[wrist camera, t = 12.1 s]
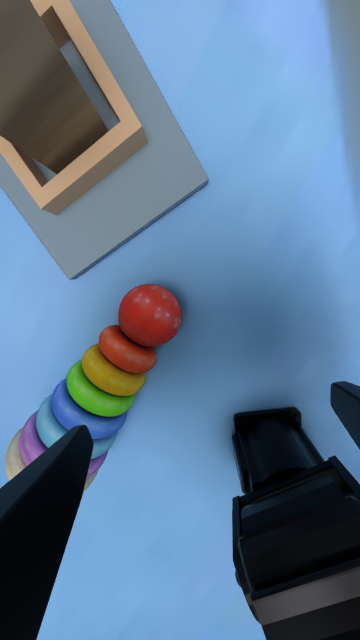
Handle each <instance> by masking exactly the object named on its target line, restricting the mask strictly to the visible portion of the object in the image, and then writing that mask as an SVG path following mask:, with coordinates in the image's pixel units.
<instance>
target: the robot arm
mask: <svg viewBox="0 0 360 640" xmlns="http://www.w3.org/2000/svg"><path fill="white" fill-rule="evenodd" d="M330 401H331V406H332V408H333V410H334V412H335V413H336V415H337V416H338V418H339V419H340V421H341V422H342V424H343V425H344V427H345V428H346V430H347V431H348V433H349V434H350V436H351V437H352V439H353V440H354V442H355V443H356V445H357V446H358V448H359V449H360V386H357V385H354V384H352V383H349V382H346V381H341V382H335V383H332V384H331V400H330ZM295 412H296V413H295ZM293 413H295V414H293ZM239 418H240V420H237V419H239ZM233 420H234V428H235V434H233V435H232V445H233V452H234V458H235V462H236V467H237V471H238V476H239V480H240V484H241V489H242V492H243V493H244V494H245V495H243V496H241V497H240V496H237V497H234V498H233V509H232V525H233V562H234V565H235V568H236V571H235V576H236V580H237V583H238V585H239V586H240V587H241V588H242V590H243V593H244V596H245V598H246V601H247V603H248V606H249V608H250V610H251V612H252V614H253V616H254V617H255V619H256V620H257V621H258V622H259V623H260V624H261V625H262V628H263V631H264V634H265V637H266V640H360V484H359V483H358V482H357V481H356V480H355V478H354V477H353V476H352V475H351V474H350V473H349V471H348V470H347V469H346V468H345V467H344V466H343V464H342V463H341V462H340V461H339V460H338V458H337V457H336V456H332V457H330V458H328V459H329V460H327V461H324V459H323V458H322V457H321V455H320V454H319V452H318V451H317V449H316V448H315V446H314V445H313V443H312V442H311V441H310V439H309V438H308V436H307V435H306V433H305V432H304V430H303V429H302V427H301V413H300V411H299V410H298V409H297V408H286V409H276V410H267V411H258V412H249V413H240V414H236V415H234V417H233ZM93 447H94V442H93V439H92V436H91V434H90V432H89V429H88V427H87V426H86V425H78V426H74V427H73V428H71V429H70V430H69V431H68V432H67V433H66V434H64V435H63V436H62V437H61V438H60V439H58V440H57V441H56V442H55V443H54V444H52V445H51V446H50V447H49V448H48V449H47V450H45V451H44V452H43V453H42V454H41V455H39V456H38V457H37V458H36V459H35V460H34V461H32V462H31V463H30V464H29V465H28V466H26V467H25V468H24V469H23V470H22V471H20V472H19V473H18V474H17V475H16V476H15V477H13V478H12V479H11V480H10V481H9V482H7V483H6V484H5V485H4V486H3V487H2V488H0V640H36V639H37V636H38V633H39V630H40V627H41V623H42V620H43V617H44V614H45V611H46V608H47V605H48V602H49V598H50V595H51V592H52V589H53V586H54V583H55V580H56V577H57V573H58V570H59V567H60V564H61V561H62V558H63V555H64V552H65V548H66V545H67V542H68V539H69V536H70V533H71V530H72V527H73V523H74V520H75V517H76V514H77V511H78V508H79V505H80V502H81V498H82V495H83V491H84V487H85V483H86V479H87V474H88V470H89V465H90V461H91V456H92V452H93Z"/></svg>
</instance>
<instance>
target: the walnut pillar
mask: <svg viewBox="0 0 360 640" xmlns="http://www.w3.org/2000/svg"><path fill="white" fill-rule="evenodd" d="M107 132H109V130H108V129H107V127H106V125H105V124H104V122H103V120H102V119H101V117H100V115H99V114H98V112H97V110H96V109H95V107H94V105H93V104H92V102H91V100H90V99H89V97H88V95H87V94H86V92H85V91H84V89H83V87H82V86H81V84H80V82H79V81H78V79H77V77H76V76H75V74H74V72H73V71H72V69H71V67H70V66H69V64H68V62H67V61H66V59H65V57H64V56H63V54H62V52H61V51H60V49H59V47H58V46H57V44H56V43H55V41H54V39H53V38H52V36H51V34H50V33H49V31H48V29H47V28H46V26H45V24H44V23H43V21H42V19H41V18H40V16H39V14H38V13H37V11H36V9H35V8H34V6H33V4H32V3H31V1H30V0H0V136H2V137H3V138H4V139H6V140H7V141H9V142H10V143H12V144H13V145H15V146H16V147H18V148H19V149H21V150H22V151H23V152H25V153H26V154H28V155H29V156H31V157H32V158H34V159H35V160H37V161H38V162H40V163H41V164H42V165H44V166H45V167H47V168H48V169H50V170H51V171H53V172H54V173H56V174H59V173H60V172H61V171H62V170H63V169H65V168H66V167H67V166H68V165H69V164H70V163H72V162H73V161H74V160H75V159H76V158H78V157H79V156H80V155H81V154H82V153H84V152H85V151H86V150H87V149H88V148H90V147H91V146H92V145H93V144H94V143H96V142H97V141H98V140H99V139H100V138H102V137H103V136H104V135H105V134H106V133H107Z"/></svg>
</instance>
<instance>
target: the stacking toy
mask: <svg viewBox="0 0 360 640" xmlns="http://www.w3.org/2000/svg"><path fill="white" fill-rule="evenodd" d="M181 319H182V312H181V308H180V305H179V302H178V300H177V299H176V298H175V296H174V295H173V294H172V293H171V292H170V291H168V290H167V289H165V288H163V287H161V286H158V285H154V284H145V285H140V286H138V287H135V288H134V289H132V290H131V291H129V292H128V293H127V294H126V295H125V297H124V298H123V300H122V302H121V304H120V307H119V313H118V320H119V324H120V326H119V325H112V326H109V327H107V328H105V329H104V330H103V331H102V333H101V334H100V336H99V344H96V345H93V346H91V347H90V348H89V349H87V350H86V352H85V353H84V355H83V358H82V360H81V361H78V362H77V363H75V364H74V365H73V366H72V367H71V369H70V370H69V372H68V375H67V378H65V379H64V380H62V381H61V382H60V383H59V384H58V386H57V387H56V388H55V390H54V393H52V394H51V395H49V396H48V397H47V398H46V399H45V400H44V401H43V403H42V404H41V406H40V408H39V410H38V411H36V412H35V413H34V414H33V415H32V416H31V417H30V418H29V419H28V420H27V422H26V423H25V425H24V427H22V428H21V429H20V430H19V431H18V432H17V433H16V435H15V436H14V437H13V439H12V441H11V443H10V445H9V447H8V450H7V453H6V460H5V465H6V473H7V476H8V479H9V481H10V480H11V479H12V478H13V477H15V476H16V475H17V474H18V473H19V472H20V471H22V470H23V469H24V468H25V467H26V466H28V465H29V464H30V463H31V462H32V461H34V460H35V459H36V458H37V457H38V456H39V455H41V454H42V453H43V452H44V451H45V450H47V449H48V448H49V447H50V446H51V445H52V444H54V443H55V442H56V441H57V440H58V439H60V438H61V437H62V436H63V435H64V434H66V433H67V432H68V431H69V430H70V429H71V428H73V427H74V426H78V425H86V426H87V427H88V429H89V432H90V434H91V436H92V439H93V442H94V447H93V452H92V456H91V461H90V465H89V470H88V474H87V479H86V483H85V487H84V491H85V490H86V489H87V488H88V487H89V485H90V484H91V483H92V482H93V480H94V478H95V476H96V474H97V472H98V469H99V468H100V467H101V465H102V464H103V462H104V460H105V458H106V456H107V453H108V449H109V448H110V447H111V446H112V444H113V442H114V441H115V439H116V436H117V432H118V430H119V429H120V428H121V427H122V425H123V424H124V422H125V419H126V416H127V410H128V409H129V408H130V407H131V406H132V404H133V402H134V399H135V393H136V392H138V391H139V390H140V389H141V388H142V386H143V385H144V382H145V372H147V371H149V370H150V369H151V368H152V367H153V366H154V364H155V362H156V352H155V349H154V348H153V347H155V346H159V345H162V344H164V343H166V342H167V341H169V340H170V339H171V338H172V337H173V336H174V335H175V334H176V332H177V331H178V329H179V327H180V324H181ZM84 491H83V492H84Z"/></svg>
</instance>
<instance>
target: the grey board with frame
mask: <svg viewBox="0 0 360 640" xmlns="http://www.w3.org/2000/svg"><path fill="white" fill-rule="evenodd" d="M30 1H31V3H32V4H33V6H34V8H35V9H36V11H37V13H38V14H39V16H40V18H41V19H42V21H43V23H44V24H45V26H46V28H47V29H48V31H49V33H50V34H51V36H52V38H53V39H54V41H55V43H56V44H57V46H58V47H59V49H60V51H61V52H62V54H63V56H64V57H65V59H66V61H67V62H68V64H69V66H70V67H71V69H72V71H73V72H74V74H75V76H76V77H77V79H78V81H79V82H80V84H81V86H82V87H83V89H84V91H85V92H86V94H87V95H88V97H89V99H90V100H91V102H92V104H93V105H94V107H95V109H96V110H97V112H98V114H99V115H100V117H101V119H102V120H103V122H104V124H105V125H106V127H107V129H108V130H109V132H107V133H106V134H105V135H104V136H103V137H102V138H100V139H99V140H98V141H97V142H96V143H94V144H93V145H92V146H91V147H90V148H88V149H87V150H86V151H85V152H84V153H82V154H81V155H80V156H79V157H78V158H76V159H75V160H74V161H73V162H72V163H70V164H69V165H68V166H67V167H66V168H65V169H63V170H62V171H61V172H60V173H59V174H56V173H54V172H53V171H51V170H50V169H48V168H47V167H45V166H44V165H42V164H41V163H40V162H38V161H37V160H35V159H34V158H32V157H31V156H29V155H28V154H26V153H25V152H23V151H22V150H21V149H19V148H18V147H16V146H15V145H13V144H12V143H10V142H9V141H7V140H6V139H4V138H3V137H2V136H0V187H1V188H2V190H3V191H4V192H5V194H6V195H7V197H8V198H9V199H10V201H11V202H12V203H13V205H14V206H15V207H16V209H17V210H18V211H19V213H20V214H21V216H22V217H23V218H24V220H25V221H26V222H27V224H28V225H29V226H30V228H31V229H32V231H33V232H34V233H35V235H36V236H37V237H38V239H39V240H40V241H41V243H42V244H43V245H44V247H45V248H46V250H47V251H48V252H49V254H50V255H51V256H52V258H53V259H54V260H55V262H56V263H57V264H58V266H59V267H60V269H61V270H62V271H63V273H64V274H65V275H66V277H67V278H68V279H69V280H71V279H76V278H77V277H78V276H80V275H81V274H82V273H84V272H85V271H87V270H88V269H89V268H91V267H92V266H94V265H95V264H96V263H98V262H99V261H101V260H102V259H103V258H105V257H106V256H108V255H109V254H110V253H112V252H113V251H115V250H116V249H117V248H119V247H120V246H121V245H123V244H124V243H126V242H127V241H128V240H130V239H131V238H133V237H134V236H135V235H137V234H138V233H140V232H141V231H142V230H144V229H145V228H147V227H148V226H149V225H151V224H152V223H154V222H155V221H156V220H158V219H159V218H160V217H162V216H163V215H165V214H166V213H167V212H169V211H170V210H172V209H173V208H174V207H176V206H177V205H179V204H180V203H181V202H183V201H184V200H186V199H187V198H188V197H190V196H191V195H193V194H194V193H195V192H197V191H198V190H199V189H201V188H202V187H204V186H205V185H206V184H208V177H207V175H206V173H205V172H204V170H203V168H202V166H201V164H200V162H199V161H198V159H197V157H196V155H195V153H194V152H193V150H192V148H191V146H190V144H189V142H188V141H187V139H186V137H185V135H184V133H183V132H182V130H181V128H180V126H179V124H178V122H177V121H176V119H175V117H174V115H173V113H172V112H171V110H170V108H169V106H168V104H167V102H166V101H165V99H164V97H163V95H162V93H161V92H160V90H159V88H158V86H157V84H156V82H155V81H154V79H153V77H152V75H151V73H150V72H149V70H148V68H147V66H146V64H145V62H144V61H143V59H142V57H141V55H140V53H139V52H138V50H137V48H136V46H135V44H134V42H133V41H132V39H131V37H130V35H129V33H128V32H127V30H126V28H125V26H124V24H123V22H122V21H121V19H120V17H119V15H118V13H117V12H116V10H115V8H114V6H113V4H112V2H111V1H110V0H30Z"/></svg>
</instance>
